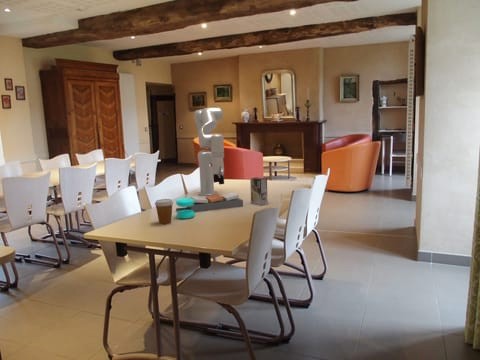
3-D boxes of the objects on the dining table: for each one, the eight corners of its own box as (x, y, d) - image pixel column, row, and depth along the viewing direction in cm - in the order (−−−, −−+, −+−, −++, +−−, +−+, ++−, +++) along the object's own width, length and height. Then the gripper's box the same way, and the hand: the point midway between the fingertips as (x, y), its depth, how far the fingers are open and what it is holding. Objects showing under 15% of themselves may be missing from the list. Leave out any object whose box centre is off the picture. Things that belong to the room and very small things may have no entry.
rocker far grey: (221, 197, 252) (220, 195, 251) (232, 194, 254) (232, 191, 254) (226, 200, 242) (226, 198, 242) (238, 197, 245) (238, 194, 244)
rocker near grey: (190, 199, 244) (190, 196, 244) (202, 199, 247) (203, 197, 247) (194, 202, 235) (195, 199, 234) (207, 203, 238) (208, 200, 237)
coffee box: (268, 203, 251) (267, 178, 248) (261, 205, 246) (261, 179, 244) (257, 201, 257) (256, 177, 254) (250, 203, 252) (249, 178, 250)
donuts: (181, 197, 228) (197, 198, 225) (182, 214, 230) (197, 215, 226) (172, 200, 219) (188, 201, 216) (173, 218, 221) (189, 219, 217)
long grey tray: (174, 209, 243) (173, 202, 242) (235, 202, 257) (235, 195, 256) (178, 214, 231) (178, 206, 230) (243, 206, 245) (242, 198, 244)
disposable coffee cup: (158, 220, 217) (157, 199, 215) (175, 220, 217) (174, 198, 215) (154, 225, 208) (152, 202, 206) (172, 225, 208) (170, 202, 206)
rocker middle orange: (206, 199, 248) (205, 196, 248) (218, 196, 251) (217, 193, 250) (211, 202, 238) (210, 199, 238) (223, 199, 241) (222, 196, 241)
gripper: (207, 154, 248) (208, 181, 251) (216, 156, 232) (217, 185, 235) (219, 153, 251) (220, 180, 253) (228, 155, 235) (229, 184, 237)
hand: (218, 183), depth 244 cm, fingers open, 9 cm apart
